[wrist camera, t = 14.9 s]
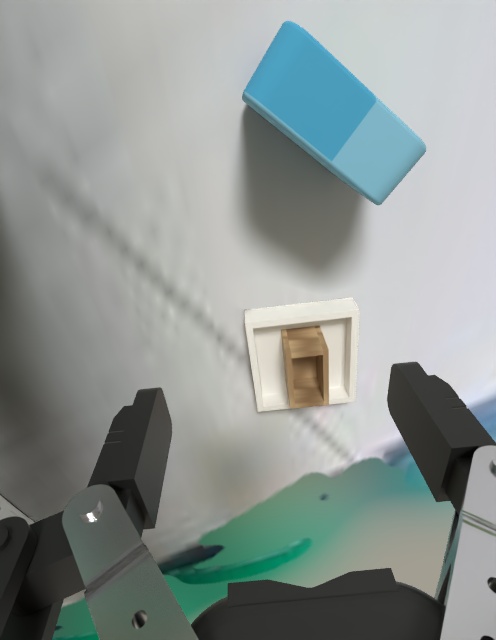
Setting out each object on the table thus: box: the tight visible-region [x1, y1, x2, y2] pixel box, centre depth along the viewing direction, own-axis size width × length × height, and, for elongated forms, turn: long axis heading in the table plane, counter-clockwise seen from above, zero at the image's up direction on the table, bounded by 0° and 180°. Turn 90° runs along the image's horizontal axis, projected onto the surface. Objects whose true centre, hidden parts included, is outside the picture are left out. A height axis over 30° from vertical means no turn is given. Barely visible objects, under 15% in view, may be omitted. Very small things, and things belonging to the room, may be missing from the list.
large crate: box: [245, 297, 359, 412], centre depth 44 cm, size 13×14×3 cm
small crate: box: [281, 325, 329, 409], centre depth 42 cm, size 5×8×5 cm, turn 7°
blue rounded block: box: [242, 21, 426, 205], centre depth 27 cm, size 12×4×12 cm, turn 55°
